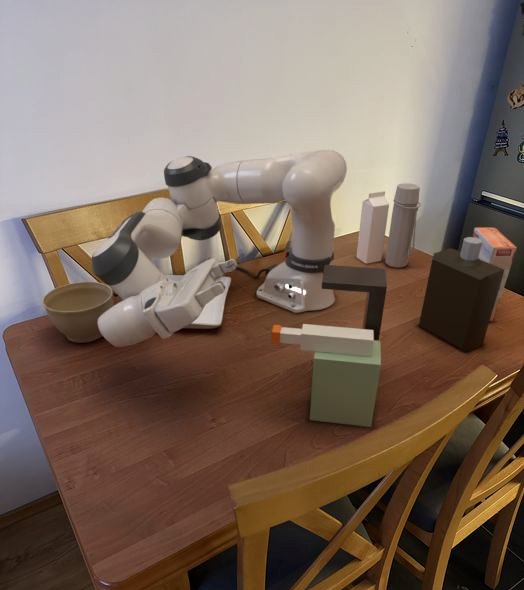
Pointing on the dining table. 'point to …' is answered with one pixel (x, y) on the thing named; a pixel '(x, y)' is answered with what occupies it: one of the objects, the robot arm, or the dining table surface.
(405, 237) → the water bottle
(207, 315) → the square plate
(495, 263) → the cracker box
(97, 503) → the dining table surface
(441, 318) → the bottle
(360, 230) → the milk
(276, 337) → the white bottle
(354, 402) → the green block
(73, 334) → the planter bowl
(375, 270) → the dark l-shaped bracket
